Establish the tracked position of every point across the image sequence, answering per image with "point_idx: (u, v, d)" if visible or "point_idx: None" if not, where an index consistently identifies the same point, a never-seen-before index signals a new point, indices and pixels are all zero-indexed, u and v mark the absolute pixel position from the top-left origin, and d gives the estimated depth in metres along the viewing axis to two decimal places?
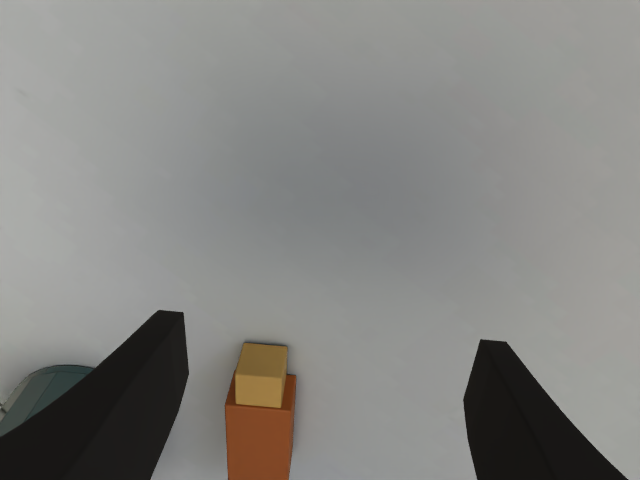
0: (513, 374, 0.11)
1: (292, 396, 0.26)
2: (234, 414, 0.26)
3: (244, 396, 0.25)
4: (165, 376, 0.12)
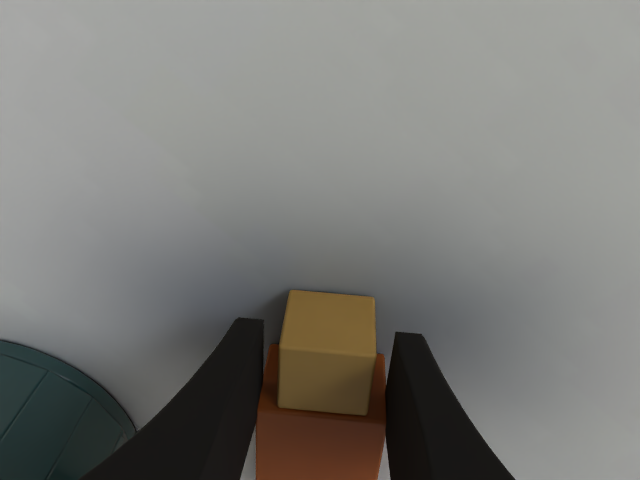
0: (417, 365, 0.11)
1: (384, 392, 0.14)
2: (274, 428, 0.13)
3: (296, 392, 0.13)
4: (252, 384, 0.12)
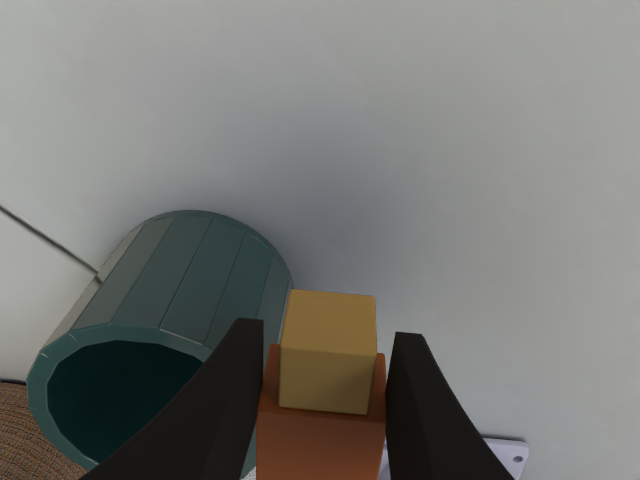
0: (417, 365, 0.11)
1: None
2: (274, 427, 0.13)
3: (296, 392, 0.13)
4: (252, 384, 0.12)
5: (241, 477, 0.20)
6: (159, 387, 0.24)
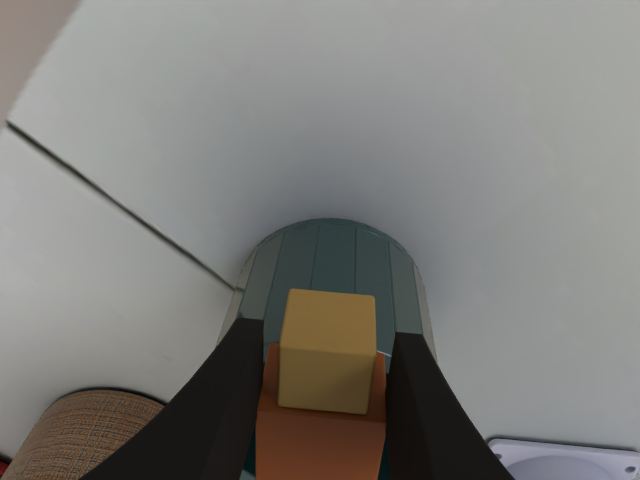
0: (418, 365, 0.11)
1: (384, 392, 0.14)
2: (274, 427, 0.13)
3: (295, 391, 0.13)
4: (251, 384, 0.12)
5: None
6: None
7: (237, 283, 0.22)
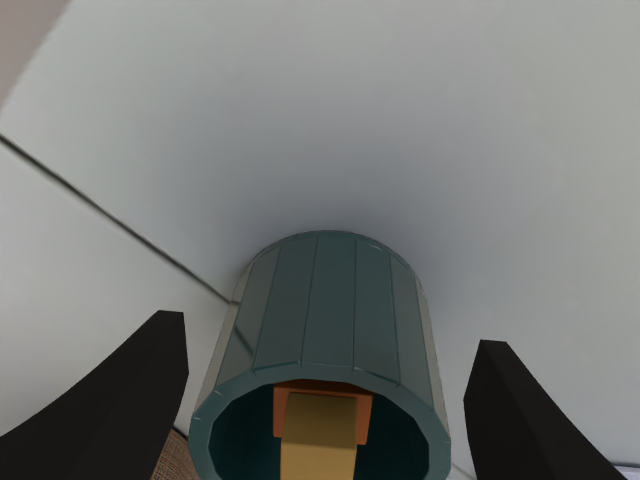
0: (513, 374, 0.11)
1: (367, 425, 0.18)
2: None
3: None
4: (165, 376, 0.12)
5: None
6: None
7: (232, 298, 0.22)
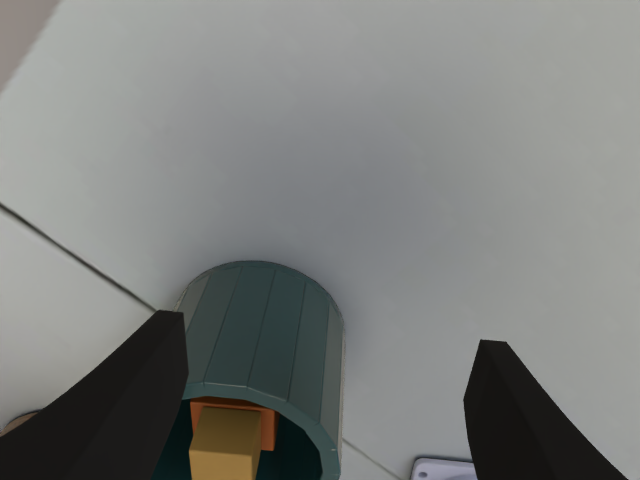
0: (513, 374, 0.11)
1: (273, 434, 0.21)
2: None
3: None
4: (165, 375, 0.12)
5: None
6: None
7: None
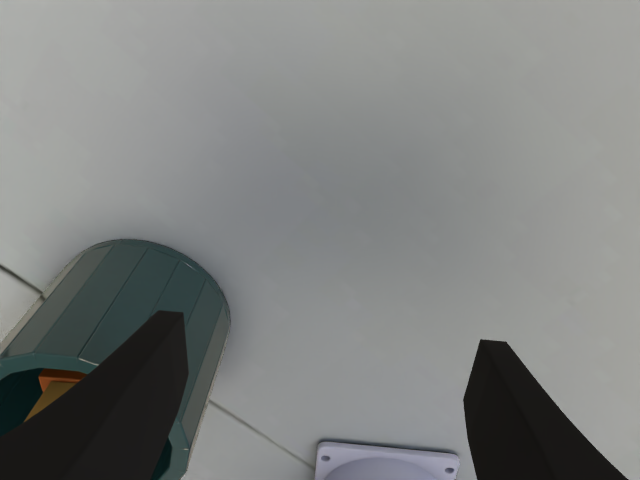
0: (513, 374, 0.11)
1: None
2: None
3: None
4: (166, 375, 0.12)
5: None
6: None
7: None
